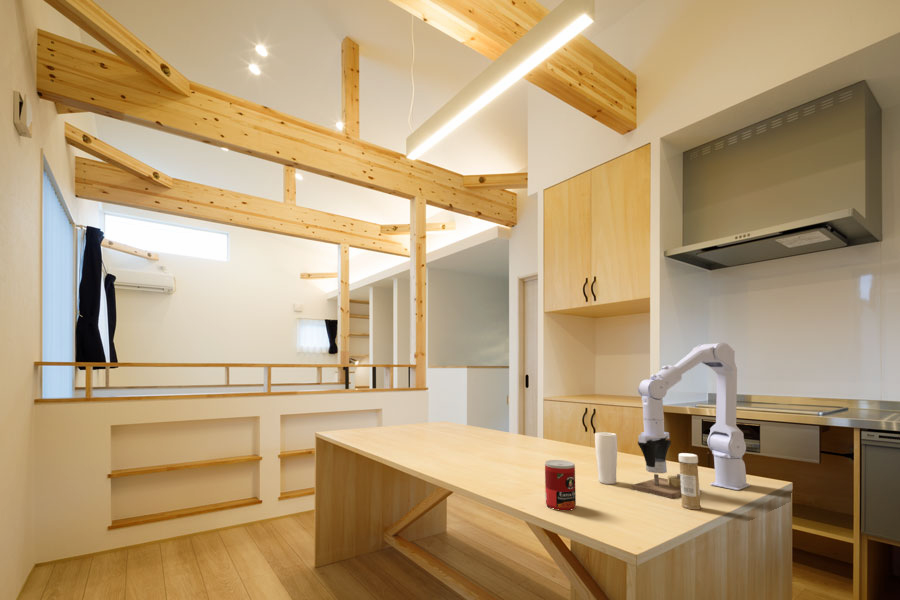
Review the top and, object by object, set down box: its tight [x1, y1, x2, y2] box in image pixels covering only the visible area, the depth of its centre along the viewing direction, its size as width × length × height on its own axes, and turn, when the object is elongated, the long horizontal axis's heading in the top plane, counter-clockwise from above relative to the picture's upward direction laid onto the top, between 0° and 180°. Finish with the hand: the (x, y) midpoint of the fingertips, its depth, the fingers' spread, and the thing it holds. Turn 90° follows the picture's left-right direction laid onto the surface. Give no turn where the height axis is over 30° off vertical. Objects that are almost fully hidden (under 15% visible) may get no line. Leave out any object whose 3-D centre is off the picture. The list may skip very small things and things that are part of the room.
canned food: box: [544, 459, 577, 511], centre depth 121 cm, size 8×8×11 cm
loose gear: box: [645, 458, 668, 474], centre depth 139 cm, size 5×5×3 cm
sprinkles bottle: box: [678, 452, 702, 510], centre depth 121 cm, size 5×5×13 cm
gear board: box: [631, 473, 682, 499], centre depth 138 cm, size 16×12×4 cm
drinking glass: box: [594, 431, 618, 485], centre depth 146 cm, size 7×7×15 cm
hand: (655, 465), depth 139 cm, fingers closed on loose gear, 5 cm apart
